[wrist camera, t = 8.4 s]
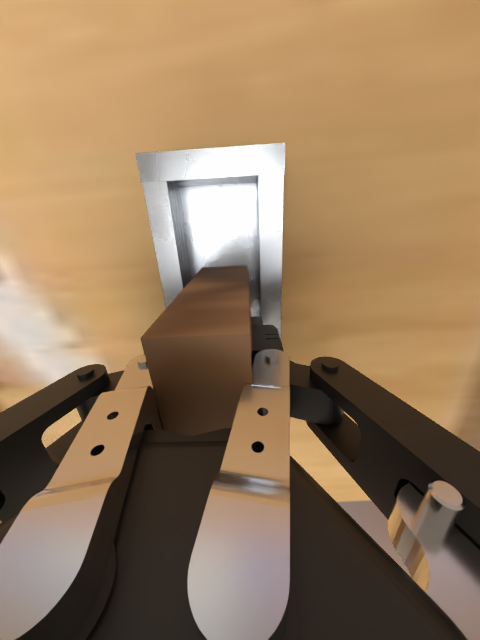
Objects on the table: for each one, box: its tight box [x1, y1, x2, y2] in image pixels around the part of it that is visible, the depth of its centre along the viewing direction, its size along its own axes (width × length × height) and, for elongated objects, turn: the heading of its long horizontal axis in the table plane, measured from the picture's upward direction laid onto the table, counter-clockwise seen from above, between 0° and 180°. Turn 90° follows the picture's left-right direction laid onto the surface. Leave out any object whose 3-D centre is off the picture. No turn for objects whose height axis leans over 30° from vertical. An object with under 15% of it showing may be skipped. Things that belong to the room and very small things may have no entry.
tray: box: [136, 143, 285, 340], centre depth 16 cm, size 7×18×4 cm, turn 3°
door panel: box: [141, 265, 252, 436], centre depth 13 cm, size 3×8×10 cm, turn 3°
